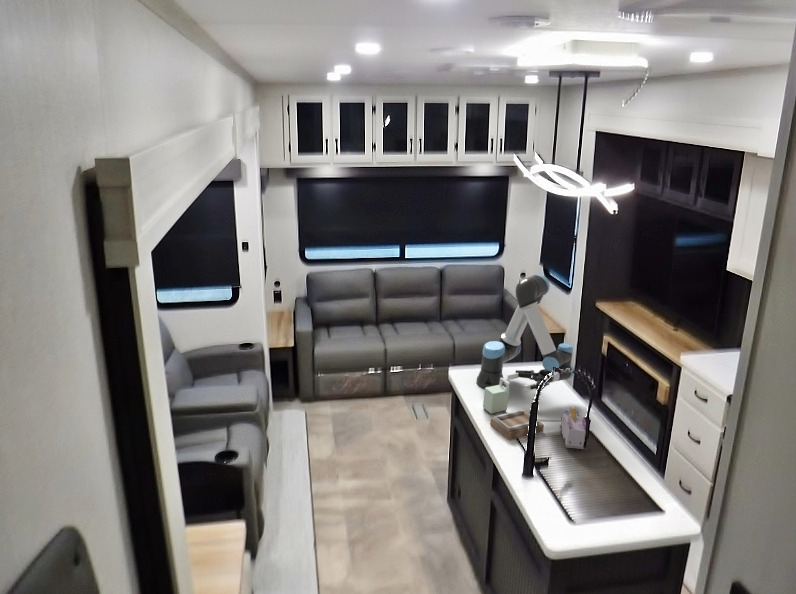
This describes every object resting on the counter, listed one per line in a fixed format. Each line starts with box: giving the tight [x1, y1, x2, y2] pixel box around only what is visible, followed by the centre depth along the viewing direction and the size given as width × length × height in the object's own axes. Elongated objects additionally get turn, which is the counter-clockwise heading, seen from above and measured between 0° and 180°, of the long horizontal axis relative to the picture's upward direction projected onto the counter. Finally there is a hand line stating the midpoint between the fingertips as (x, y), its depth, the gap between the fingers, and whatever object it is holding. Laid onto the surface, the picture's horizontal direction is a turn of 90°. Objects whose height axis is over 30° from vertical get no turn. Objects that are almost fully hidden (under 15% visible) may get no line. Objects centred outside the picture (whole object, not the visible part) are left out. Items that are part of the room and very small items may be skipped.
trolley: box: [482, 377, 511, 416], centre depth 314 cm, size 10×7×16 cm
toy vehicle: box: [559, 407, 587, 450], centre depth 290 cm, size 9×20×15 cm, turn 174°
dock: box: [489, 409, 545, 441], centre depth 300 cm, size 20×15×6 cm
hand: (516, 382), depth 315 cm, fingers open, 13 cm apart
